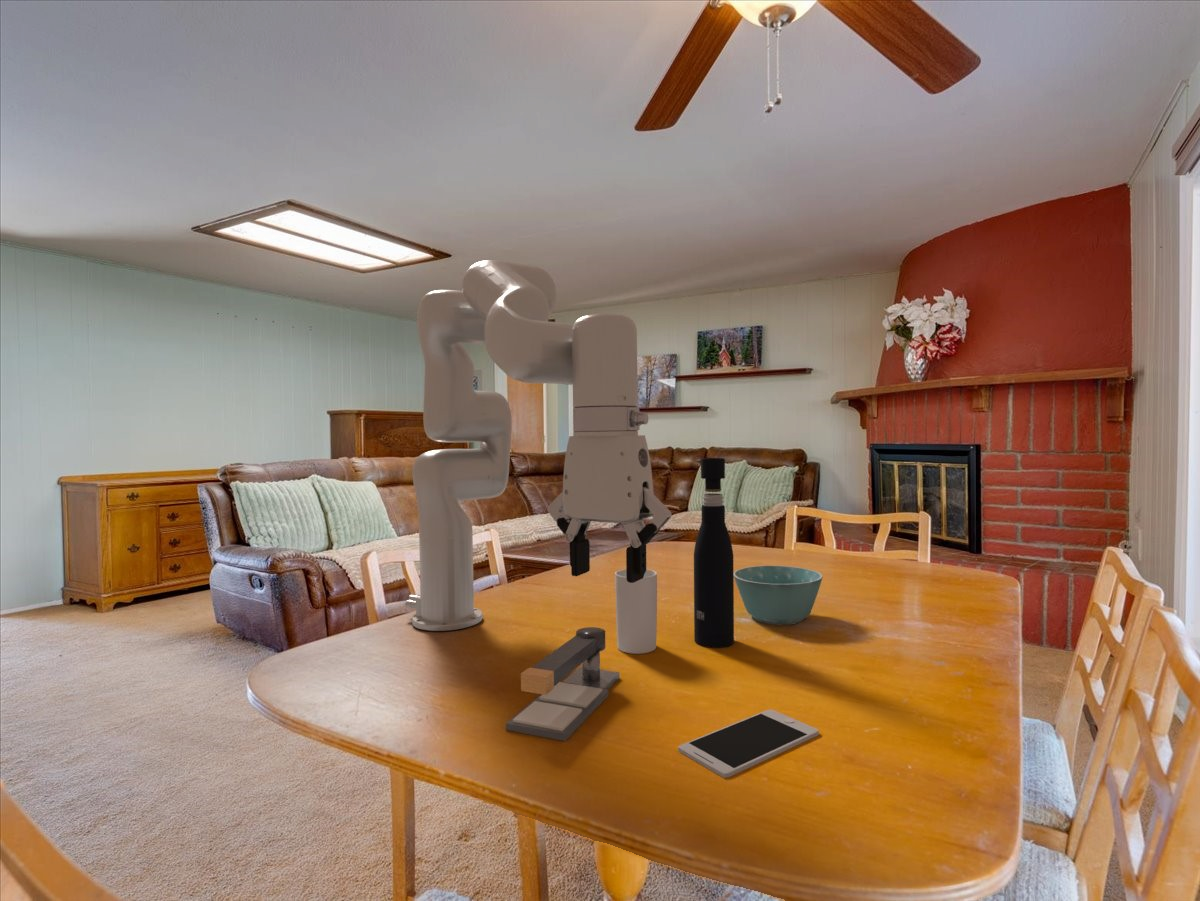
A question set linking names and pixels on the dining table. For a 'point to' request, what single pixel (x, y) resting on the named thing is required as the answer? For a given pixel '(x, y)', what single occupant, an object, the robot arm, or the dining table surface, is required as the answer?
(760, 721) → the smartphone
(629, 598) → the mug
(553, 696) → the label tile
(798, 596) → the bowl
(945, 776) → the dining table surface
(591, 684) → the pivot post base
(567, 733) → the label tile
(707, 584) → the black bottle
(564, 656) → the swing arm
